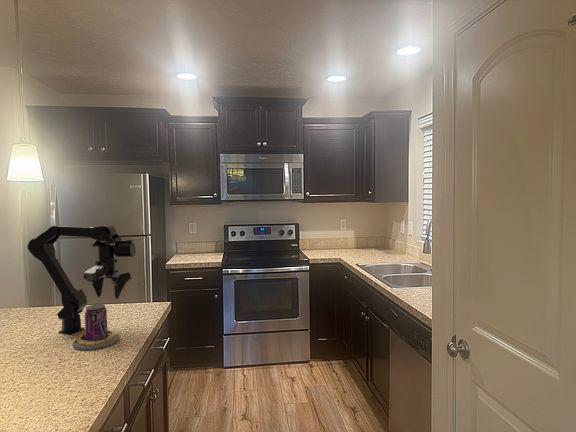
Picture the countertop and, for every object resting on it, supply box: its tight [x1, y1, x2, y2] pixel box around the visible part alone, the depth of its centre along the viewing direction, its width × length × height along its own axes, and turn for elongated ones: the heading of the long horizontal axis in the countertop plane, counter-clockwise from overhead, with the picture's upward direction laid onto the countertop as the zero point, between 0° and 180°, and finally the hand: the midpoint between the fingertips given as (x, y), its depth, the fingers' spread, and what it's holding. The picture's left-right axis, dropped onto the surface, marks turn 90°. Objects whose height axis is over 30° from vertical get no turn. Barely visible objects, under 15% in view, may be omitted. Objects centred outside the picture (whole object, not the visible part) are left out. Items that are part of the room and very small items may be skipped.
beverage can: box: [84, 303, 108, 341], centre depth 138 cm, size 7×7×12 cm
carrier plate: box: [72, 329, 120, 352], centre depth 138 cm, size 15×15×2 cm
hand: (107, 297), depth 150 cm, fingers open, 9 cm apart
